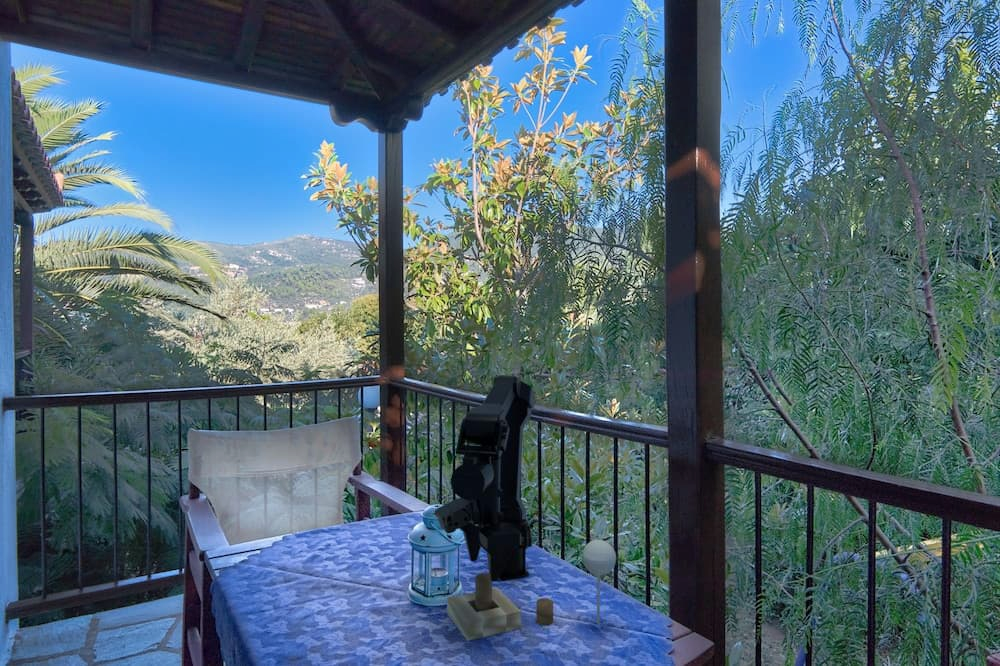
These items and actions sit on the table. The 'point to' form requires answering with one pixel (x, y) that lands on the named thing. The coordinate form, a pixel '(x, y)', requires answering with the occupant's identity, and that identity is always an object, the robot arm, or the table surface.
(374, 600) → the table surface
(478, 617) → the bored block
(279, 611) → the table surface
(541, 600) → the short pin
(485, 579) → the long pin
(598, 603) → the lollipop
